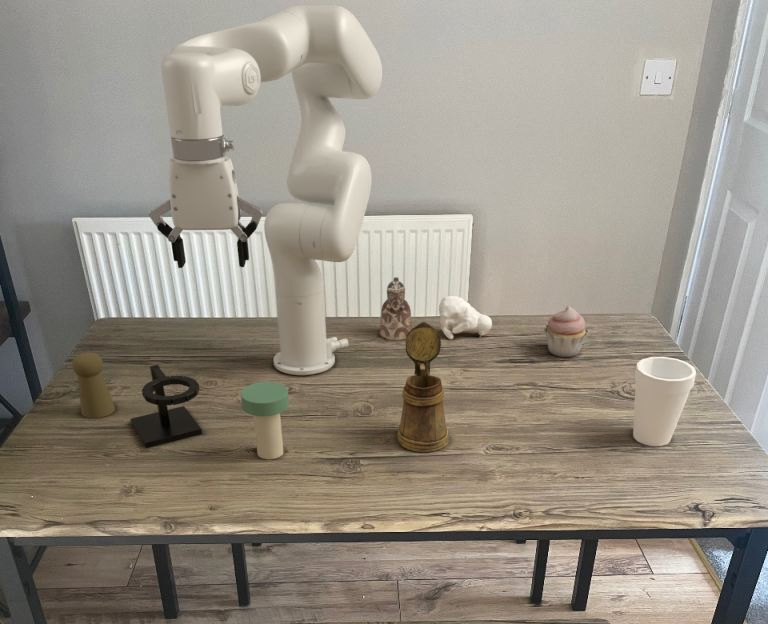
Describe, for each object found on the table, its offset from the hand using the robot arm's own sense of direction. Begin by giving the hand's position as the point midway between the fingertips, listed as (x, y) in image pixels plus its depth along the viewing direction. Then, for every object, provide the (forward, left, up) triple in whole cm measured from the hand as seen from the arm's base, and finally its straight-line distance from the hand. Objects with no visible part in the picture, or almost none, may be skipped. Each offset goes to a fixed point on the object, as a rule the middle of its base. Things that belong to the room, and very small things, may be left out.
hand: (212, 265), depth 128 cm
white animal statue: (-59, -13, -29) cm, 67 cm away
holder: (+11, 0, -29) cm, 31 cm away
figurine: (-46, -21, -29) cm, 58 cm away
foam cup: (-62, +41, -29) cm, 80 cm away
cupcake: (-72, +5, -29) cm, 78 cm away
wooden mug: (-28, +20, -29) cm, 45 cm away
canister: (-2, +13, -29) cm, 32 cm away
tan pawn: (+20, -17, -29) cm, 39 cm away
